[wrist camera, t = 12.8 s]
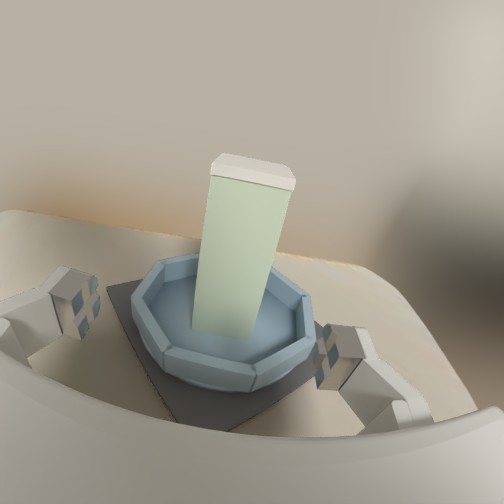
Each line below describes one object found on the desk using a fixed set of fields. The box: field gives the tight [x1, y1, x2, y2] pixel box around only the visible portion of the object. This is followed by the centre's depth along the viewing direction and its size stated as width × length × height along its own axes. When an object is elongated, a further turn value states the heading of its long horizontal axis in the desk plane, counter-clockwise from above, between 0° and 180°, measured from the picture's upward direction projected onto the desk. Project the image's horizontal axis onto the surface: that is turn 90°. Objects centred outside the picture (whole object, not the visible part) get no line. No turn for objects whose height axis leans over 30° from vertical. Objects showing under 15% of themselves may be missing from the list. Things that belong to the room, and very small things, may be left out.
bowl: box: [131, 253, 316, 393], centre depth 27 cm, size 17×17×3 cm
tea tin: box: [191, 153, 296, 341], centre depth 23 cm, size 6×6×15 cm
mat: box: [106, 279, 323, 432], centre depth 27 cm, size 20×19×1 cm
